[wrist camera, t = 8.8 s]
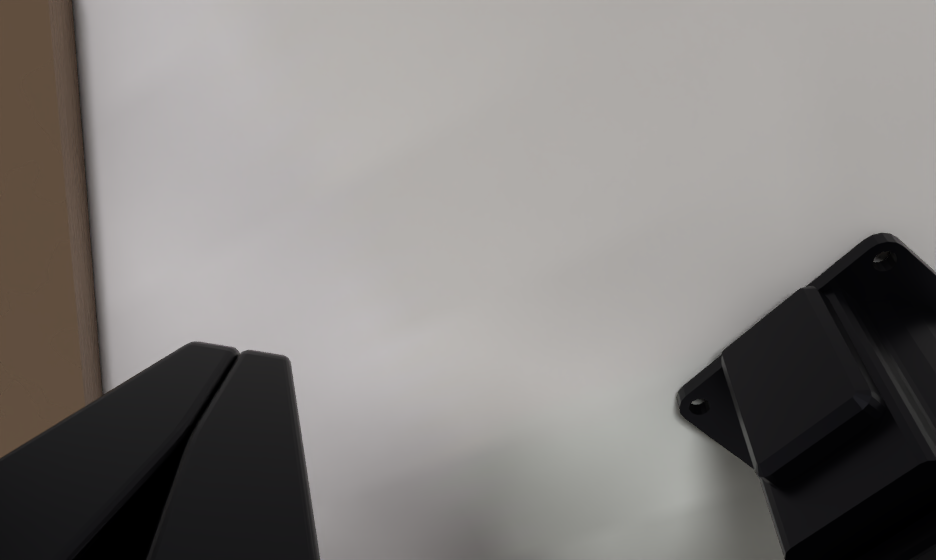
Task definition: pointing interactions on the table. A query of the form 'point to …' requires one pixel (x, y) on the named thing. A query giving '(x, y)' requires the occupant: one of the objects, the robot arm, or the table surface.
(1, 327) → the housing
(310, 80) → the table surface
